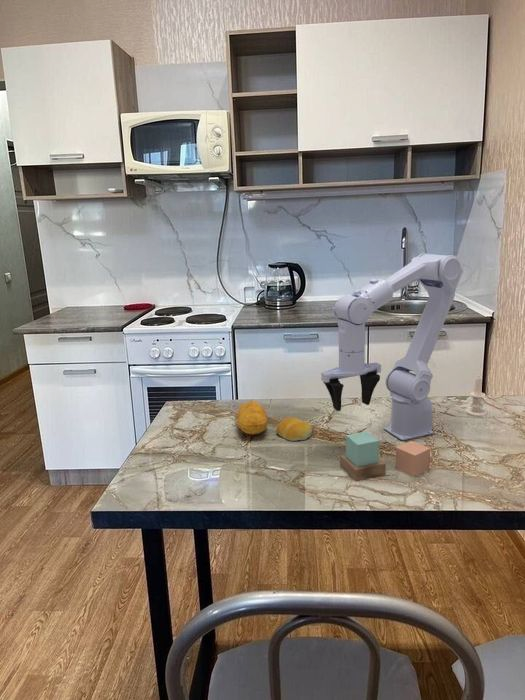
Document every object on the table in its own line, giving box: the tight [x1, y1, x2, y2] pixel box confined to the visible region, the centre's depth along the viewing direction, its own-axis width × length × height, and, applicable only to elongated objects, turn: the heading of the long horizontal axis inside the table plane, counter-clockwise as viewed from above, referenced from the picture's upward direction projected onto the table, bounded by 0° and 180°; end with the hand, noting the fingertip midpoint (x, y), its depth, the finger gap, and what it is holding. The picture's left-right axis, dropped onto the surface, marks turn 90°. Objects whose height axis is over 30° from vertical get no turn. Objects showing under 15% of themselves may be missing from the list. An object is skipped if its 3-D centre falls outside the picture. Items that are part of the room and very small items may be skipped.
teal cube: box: [345, 431, 380, 467], centre depth 110 cm, size 5×5×5 cm
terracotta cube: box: [394, 440, 431, 478], centre depth 111 cm, size 5×5×5 cm
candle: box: [465, 377, 488, 418], centre depth 138 cm, size 5×5×10 cm
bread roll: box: [276, 416, 313, 442], centre depth 131 cm, size 8×9×4 cm
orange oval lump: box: [236, 400, 268, 435], centre depth 133 cm, size 8×14×7 cm, turn 7°
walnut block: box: [339, 453, 387, 482], centre depth 112 cm, size 7×7×3 cm
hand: (351, 406), depth 120 cm, fingers open, 7 cm apart
